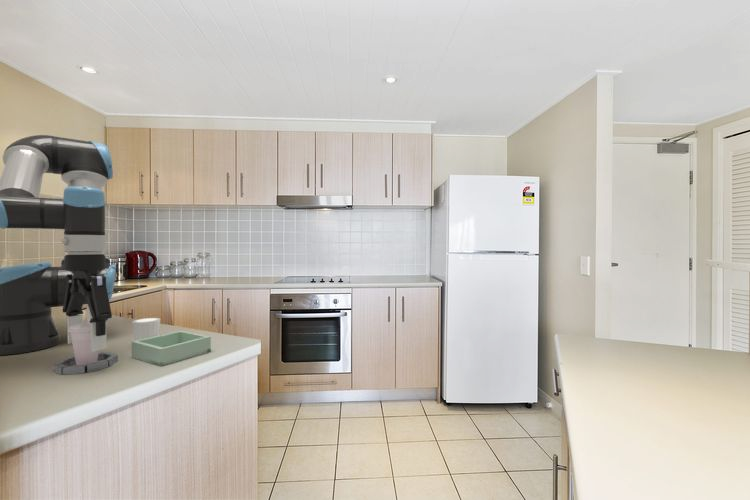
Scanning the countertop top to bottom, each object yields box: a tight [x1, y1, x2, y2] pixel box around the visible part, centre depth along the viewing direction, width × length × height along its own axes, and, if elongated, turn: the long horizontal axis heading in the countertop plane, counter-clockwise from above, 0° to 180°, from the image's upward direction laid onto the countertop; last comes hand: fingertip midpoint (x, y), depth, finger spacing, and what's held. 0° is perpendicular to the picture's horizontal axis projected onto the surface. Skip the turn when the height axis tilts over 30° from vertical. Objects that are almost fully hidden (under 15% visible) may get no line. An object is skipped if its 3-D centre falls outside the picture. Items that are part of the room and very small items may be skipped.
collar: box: [53, 351, 118, 376], centre depth 83 cm, size 11×11×2 cm
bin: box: [131, 330, 212, 367], centre depth 91 cm, size 13×13×4 cm
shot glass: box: [132, 317, 161, 341], centre depth 101 cm, size 7×7×7 cm
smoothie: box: [69, 305, 100, 366], centre depth 83 cm, size 6×6×14 cm
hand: (86, 345), depth 83 cm, fingers open, 11 cm apart
